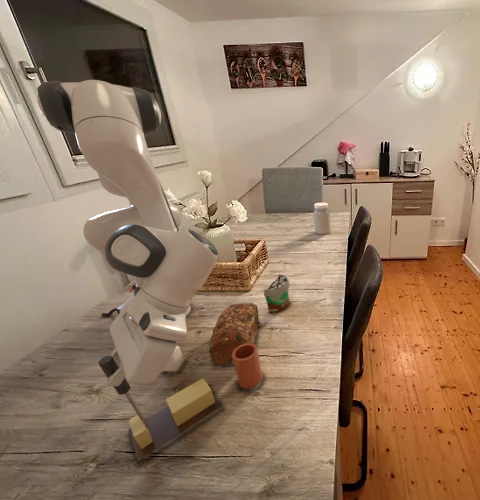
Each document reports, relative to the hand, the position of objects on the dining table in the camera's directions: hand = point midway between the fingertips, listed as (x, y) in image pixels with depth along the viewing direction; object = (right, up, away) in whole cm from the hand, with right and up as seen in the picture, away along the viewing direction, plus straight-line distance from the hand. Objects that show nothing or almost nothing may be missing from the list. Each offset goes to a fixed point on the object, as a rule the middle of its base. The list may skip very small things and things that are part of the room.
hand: (111, 378), depth 51 cm
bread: (+10, -5, +34) cm, 36 cm away
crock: (+18, -10, +21) cm, 29 cm away
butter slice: (+1, -15, +7) cm, 17 cm away
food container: (+19, +3, +51) cm, 55 cm away
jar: (+27, +34, +124) cm, 131 cm away
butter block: (+7, -13, +13) cm, 20 cm away
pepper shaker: (-4, -9, +26) cm, 27 cm away
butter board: (+5, -15, +11) cm, 19 cm away
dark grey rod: (+1, -13, +7) cm, 14 cm away
